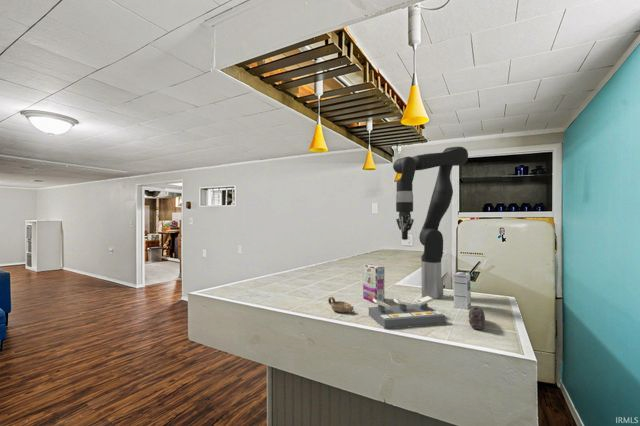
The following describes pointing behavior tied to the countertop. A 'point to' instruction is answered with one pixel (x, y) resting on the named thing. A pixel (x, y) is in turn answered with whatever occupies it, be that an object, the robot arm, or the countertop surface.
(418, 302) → the rocker
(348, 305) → the oil lamp
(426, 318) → the switch console
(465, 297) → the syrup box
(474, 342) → the countertop surface
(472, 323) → the perforated stone tool
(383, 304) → the rocker
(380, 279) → the candy bar box
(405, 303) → the middle rocker
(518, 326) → the countertop surface
